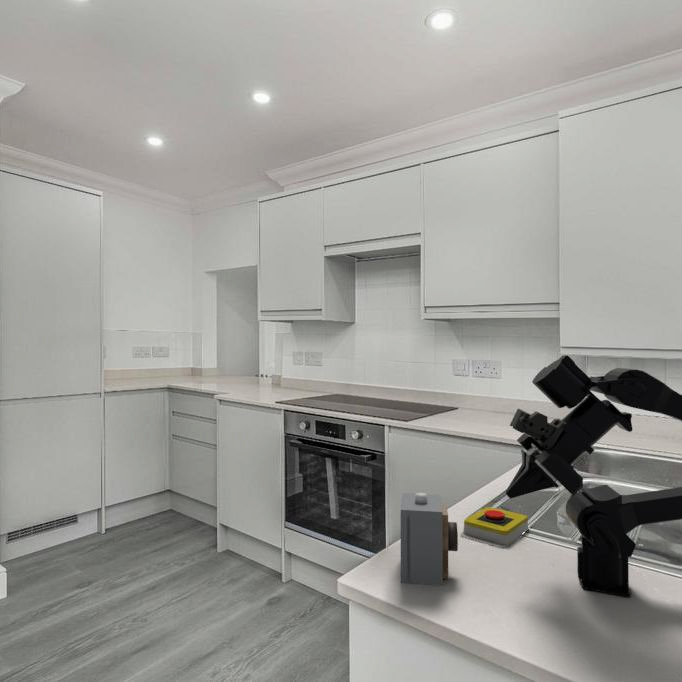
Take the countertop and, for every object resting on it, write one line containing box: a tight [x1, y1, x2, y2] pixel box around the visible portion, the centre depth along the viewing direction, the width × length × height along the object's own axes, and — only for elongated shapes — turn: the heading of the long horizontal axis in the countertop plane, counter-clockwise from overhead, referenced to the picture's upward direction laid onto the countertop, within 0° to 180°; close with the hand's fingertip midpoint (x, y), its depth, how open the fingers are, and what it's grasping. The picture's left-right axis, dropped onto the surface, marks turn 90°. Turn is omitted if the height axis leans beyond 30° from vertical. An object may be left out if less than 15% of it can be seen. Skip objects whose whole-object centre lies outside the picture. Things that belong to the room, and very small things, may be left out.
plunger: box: [441, 504, 459, 579], centre depth 79 cm, size 6×5×10 cm
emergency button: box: [459, 506, 529, 549], centre depth 97 cm, size 9×4×15 cm
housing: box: [400, 492, 444, 586], centre depth 80 cm, size 6×9×13 cm
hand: (507, 495), depth 77 cm, fingers closed
